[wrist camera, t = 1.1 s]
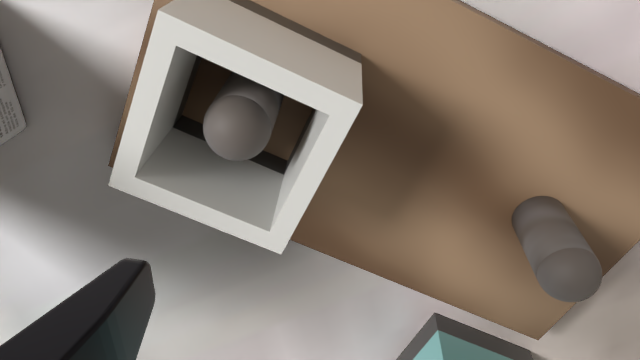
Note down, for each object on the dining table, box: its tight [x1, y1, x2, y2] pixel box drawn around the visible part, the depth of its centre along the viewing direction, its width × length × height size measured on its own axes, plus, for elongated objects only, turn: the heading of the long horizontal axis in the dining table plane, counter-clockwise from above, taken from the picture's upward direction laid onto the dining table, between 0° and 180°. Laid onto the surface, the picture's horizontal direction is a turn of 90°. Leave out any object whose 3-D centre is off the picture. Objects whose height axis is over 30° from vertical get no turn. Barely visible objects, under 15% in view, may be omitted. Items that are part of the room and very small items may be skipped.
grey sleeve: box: [108, 0, 363, 254], centre depth 17 cm, size 6×6×5 cm
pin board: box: [108, 0, 640, 340], centre depth 19 cm, size 12×22×6 cm, turn 65°
